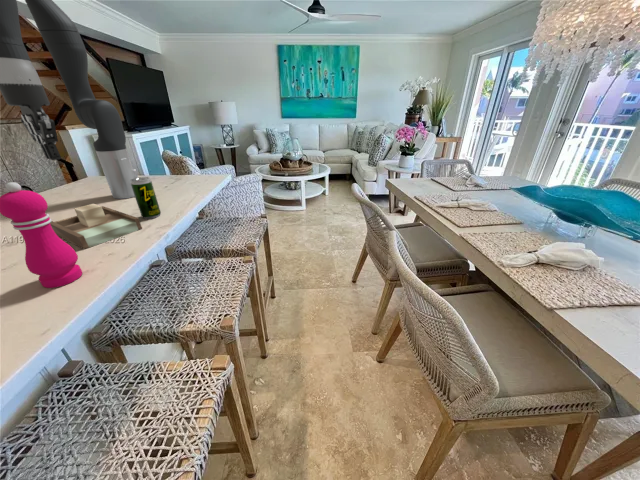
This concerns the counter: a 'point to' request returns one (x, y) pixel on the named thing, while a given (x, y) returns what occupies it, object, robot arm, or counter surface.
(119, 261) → the counter surface
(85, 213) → the maple block
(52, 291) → the counter surface
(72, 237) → the box
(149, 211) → the beer can
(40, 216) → the pepper mill
